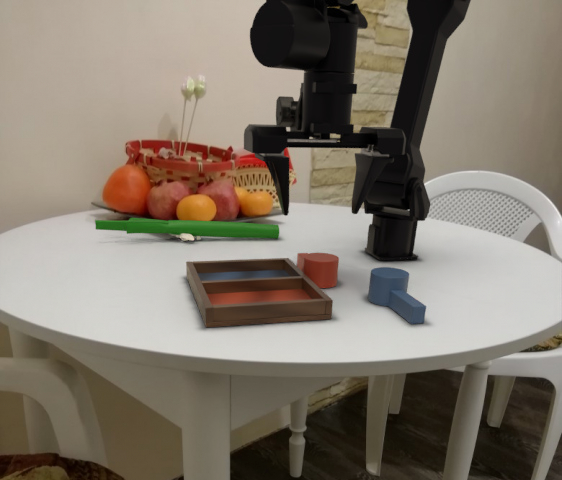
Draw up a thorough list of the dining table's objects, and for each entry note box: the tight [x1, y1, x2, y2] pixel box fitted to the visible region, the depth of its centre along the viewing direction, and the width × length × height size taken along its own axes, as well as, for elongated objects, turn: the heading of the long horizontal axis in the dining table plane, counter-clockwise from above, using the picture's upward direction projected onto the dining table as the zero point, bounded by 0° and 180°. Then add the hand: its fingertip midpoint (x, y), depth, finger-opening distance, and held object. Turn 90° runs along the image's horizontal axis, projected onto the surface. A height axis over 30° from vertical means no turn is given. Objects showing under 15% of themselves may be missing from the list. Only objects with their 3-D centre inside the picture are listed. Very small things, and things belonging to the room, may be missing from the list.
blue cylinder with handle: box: [367, 266, 427, 325], centre depth 64 cm, size 10×5×4 cm, turn 15°
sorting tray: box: [185, 257, 334, 328], centre depth 66 cm, size 14×18×2 cm
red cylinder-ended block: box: [296, 252, 340, 289], centre depth 74 cm, size 10×5×4 cm, turn 15°
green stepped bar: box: [94, 217, 280, 242], centre depth 90 cm, size 5×3×30 cm
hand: (320, 214), depth 69 cm, fingers open, 9 cm apart
